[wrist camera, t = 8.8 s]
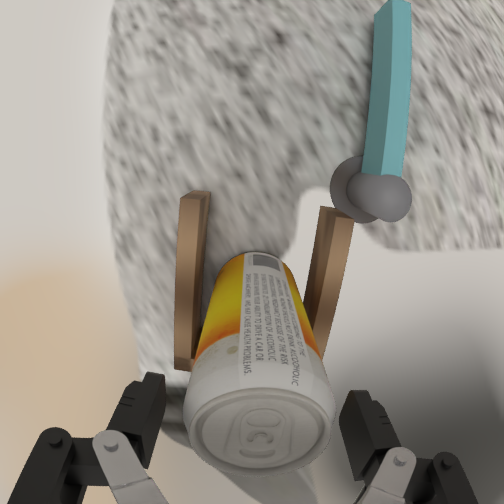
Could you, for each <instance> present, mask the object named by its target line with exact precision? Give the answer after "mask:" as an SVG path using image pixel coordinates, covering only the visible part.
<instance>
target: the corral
mask: <svg viewBox="0 0 504 504" xmlns="http://www.w3.org/2000/svg"><path fill="white" fill-rule="evenodd" d="M362 163H363V156H357V157H352V158H349V159H347V160H346V161H344V162H343V163H342V164H340V165H339V167H338V168H337V169H336V171H335V172H334V174H333V177H332V179H331V184H330V194H331V199H332V202H333V204H334V206H335V208H332V207H325V206H320V212H319V218H318V224H317V230H316V236H315V242H314V248H313V253H312V259H311V264H310V270H309V275H308V281H307V286H306V291H305V296H304V301H303V305H304V308H305V311H306V314H307V317H308V320H309V323H310V326H311V329H312V332H313V335H314V338H315V341H316V344H317V347H318V350H319V353H320V356H321V359H323V355H324V352H325V348H326V345H327V341H328V337H329V334H330V330H331V326H332V322H333V318H334V314H335V310H336V306H337V301H338V298H339V293H340V289H341V285H342V280H343V276H344V271H345V266H346V262H347V256H348V252H349V247H350V242H351V237H352V232H353V226H354V222H356V223H368V222H372V221H374V220H376V219H378V218H377V217H375V216H373V215H371V214H369V213H367V212H365V211H363V210H361V209H359V208H357V207H355V206H354V205H353V204H352V203H351V202H350V200H349V198H348V196H347V185H348V182H349V180H350V179H351V177H352V176H353V175H354V174H356V173H358V172H361V171H362ZM209 200H210V192H204V191H192V192H190V193H188V194H187V195H185V196H183V197H181V198H180V209H179V223H178V238H177V256H176V278H175V311H174V369H175V370H182V371H188V372H192V368H193V364H194V360H195V356H196V353H197V349H198V345H199V341H200V337H201V333H202V330H203V328H200V313H201V297H202V283H203V269H204V256H205V244H206V232H207V221H208V211H209Z"/></svg>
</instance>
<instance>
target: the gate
mask: <svg viewBox="0 0 504 504" xmlns="http://www.w3.org/2000/svg"><path fill="white" fill-rule="evenodd" d="M411 57H412V28H411V3H409V2H406V1H404V0H388V1H387V2H386V3H385V4H384V5H383V6H382V7H381V9H380V10H379V11H378V12H377V13H376V14H375V15H374V44H373V64H372V79H371V92H370V103H369V113H368V123H367V132H366V140H365V148H364V156H363V163H362V171H361V172H358V173H356V174H354V175H353V176H352V177H351V179H350V180H349V182H348V185H347V196H348V198H349V200H350V202H351V203H352V204H353V205H354V206H355V207H357V208H359V209H361V210H363V211H365V212H367V213H369V214H371V215H373V216H375V217H377V218H379V219H381V220H383V221H386V222H396V221H398V220H400V219H402V218H403V217H404V216H405V215H406V214H407V213H408V211H409V209H410V206H411V202H412V194H411V190H410V188H409V186H408V184H407V183H406V181H405V180H403V179H402V178H401V175H402V168H403V161H404V153H405V145H406V136H407V126H408V115H409V102H410V86H411Z"/></svg>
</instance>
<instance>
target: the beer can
mask: <svg viewBox="0 0 504 504" xmlns="http://www.w3.org/2000/svg"><path fill="white" fill-rule="evenodd" d="M182 412H183V420H184V424H185V426H186V428H187V431H188V433H189V441H190V444H191V446H192V448H193V450H194V451H195V453H196V454H197V455H198V456H199V457H200V458H201V459H202V460H203V461H205V462H206V463H208V464H209V465H211V466H213V467H215V468H217V469H219V470H221V471H224V472H227V473H231V474H235V475H240V476H247V477H268V476H276V475H281V474H285V473H289V472H292V471H295V470H297V469H299V468H302V467H304V466H305V465H307V464H309V463H310V462H312V461H313V460H315V459H316V458H317V457H318V456H319V455H320V454H321V453H322V452H323V451H324V450H325V448H326V447H327V445H328V443H329V441H330V437H331V428H332V425H333V422H334V419H335V415H336V405H335V399H334V396H333V393H332V390H331V387H330V384H329V381H328V378H327V374H326V372H325V368H324V365H323V362H322V359H321V356H320V353H319V350H318V347H317V344H316V341H315V338H314V335H313V332H312V329H311V326H310V323H309V320H308V317H307V314H306V311H305V308H304V305H303V302H302V300H301V297H300V294H299V291H298V288H297V285H296V282H295V279H294V277H293V274H292V272H291V271H290V269H289V268H288V267H287V266H286V264H285V263H283V262H282V261H281V260H280V259H278V258H276V257H274V256H272V255H270V254H266V253H260V252H250V253H245V254H241V255H239V256H236V257H234V258H233V259H231V260H230V261H228V262H227V263H226V264H225V265H224V266H223V267H222V269H221V270H220V272H219V273H218V276H217V278H216V281H215V285H214V288H213V292H212V296H211V300H210V303H209V307H208V311H207V314H206V318H205V322H204V326H203V330H202V333H201V337H200V341H199V345H198V349H197V353H196V356H195V360H194V364H193V368H192V372H191V376H190V380H189V384H188V388H187V392H186V396H185V400H184V404H183V411H182Z"/></svg>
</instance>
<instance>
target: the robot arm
mask: <svg viewBox="0 0 504 504" xmlns="http://www.w3.org/2000/svg"><path fill="white" fill-rule="evenodd" d="M165 407H166V389H165V375H164V374H158V373H153V372H147V373H146V375H145V377H144V379H143V381H142V382H139V381H133V382H132V383H131V384H129V385H128V386H127V387H126V388H125V390H124V392H123V395H122V397H121V399H120V401H119V404H118V405H117V407H116V409H115V411H114V414H113V416H112V418H111V420H110V422H109V424H108V427H107V429H106V430H105V431H102V432H99V433H98V434H97V435H96V436H95V437H94V438H72V437H71V436H70V434H69V433H68V432H67V431H66V430H64V429H62V428H57V427H53V428H49V429H46V430H44V431H43V432H42V433H41V434H40V436H39V438H38V440H37V442H36V444H35V446H34V448H33V450H32V452H31V454H30V456H29V458H28V460H27V462H26V464H25V466H24V468H23V470H22V472H21V474H20V477H19V479H18V481H17V483H16V485H15V488H14V490H13V492H12V494H11V496H10V498H9V501H8V503H7V504H82V501H83V498H84V495H85V492H86V489H87V486H88V485H89V486H109V487H110V489H111V491H112V493H113V495H114V497H115V499H116V501H117V503H118V504H169V503H168V502H167V500H166V499H165V497H164V496H163V494H162V493H161V491H160V489H159V488H158V486H157V485H156V483H155V482H154V480H153V479H152V478H149V476H148V475H147V473H146V472H145V470H144V468H145V469H148V467H149V464H150V460H151V457H152V453H153V450H154V446H155V443H156V439H157V436H158V433H159V429H160V426H161V423H162V419H163V416H164V412H165ZM387 416H388V415H387V413H386V411H385V409H384V407H383V406H382V405H380V403H379V402H378V401H372V399H371V397H370V395H369V392H368V391H367V390H351V391H350V392H349V393H348V396H347V398H346V401H345V403H344V405H343V408H342V410H341V413H340V416H339V426H340V430H341V433H342V437H343V440H344V444H345V447H346V451H347V454H348V458H349V462H350V465H351V469H352V473H353V476H354V480H355V481H360V480H364V482H365V485H364V487H363V488H362V490H361V492H360V493H359V495H358V496H357V498H356V500H355V502H354V503H353V504H404V502H405V501H406V504H478V502H477V499H476V497H475V495H474V493H473V490H472V488H471V486H470V483H469V481H468V479H467V477H466V474H465V472H464V470H463V468H462V466H461V464H460V461H459V460H458V458H457V457H456V456H455V455H453V454H452V453H449V452H440V453H438V454H437V455H436V456H435V457H434V458H433V459H422V458H416V457H415V455H414V454H413V453H412V452H411V451H410V450H408V449H406V448H403V447H401V444H400V442H399V440H398V438H397V435H396V433H395V431H394V429H393V426H392V424H391V422H390V420H389V418H388V417H387Z"/></svg>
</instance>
